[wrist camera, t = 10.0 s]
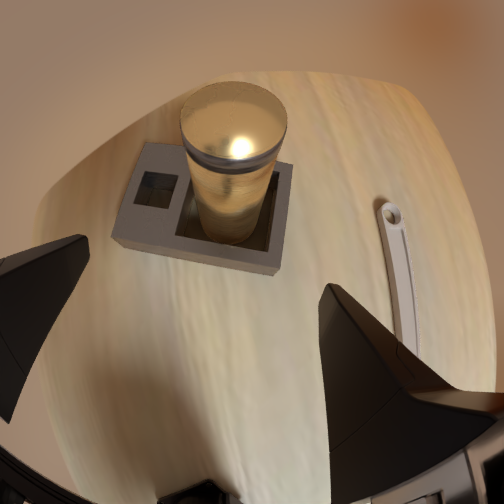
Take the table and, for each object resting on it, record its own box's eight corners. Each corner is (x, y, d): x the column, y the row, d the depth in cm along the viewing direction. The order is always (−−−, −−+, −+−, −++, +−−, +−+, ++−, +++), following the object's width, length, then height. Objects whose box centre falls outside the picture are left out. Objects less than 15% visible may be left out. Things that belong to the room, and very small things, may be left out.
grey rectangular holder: (123, 247, 21) (110, 236, 18) (152, 160, 24) (145, 142, 21) (272, 276, 22) (279, 268, 19) (285, 182, 24) (293, 164, 21)
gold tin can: (231, 257, 22) (239, 177, 10) (187, 220, 23) (156, 119, 10) (269, 215, 23) (308, 114, 11) (226, 181, 24) (230, 70, 12)
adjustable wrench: (370, 206, 25) (379, 199, 24) (416, 213, 26) (426, 207, 24) (373, 453, 19) (382, 459, 17) (421, 436, 19) (431, 440, 17)
